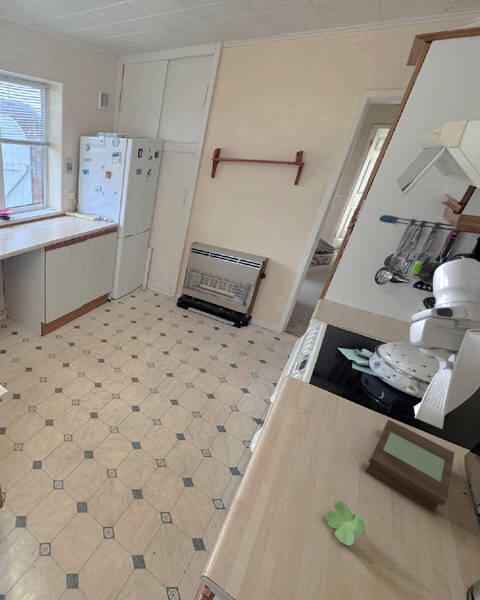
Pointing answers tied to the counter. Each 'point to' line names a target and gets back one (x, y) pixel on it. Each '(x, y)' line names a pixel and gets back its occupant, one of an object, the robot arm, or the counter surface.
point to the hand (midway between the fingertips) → (466, 372)
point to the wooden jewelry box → (412, 465)
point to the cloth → (359, 359)
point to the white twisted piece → (452, 383)
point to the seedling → (345, 523)
